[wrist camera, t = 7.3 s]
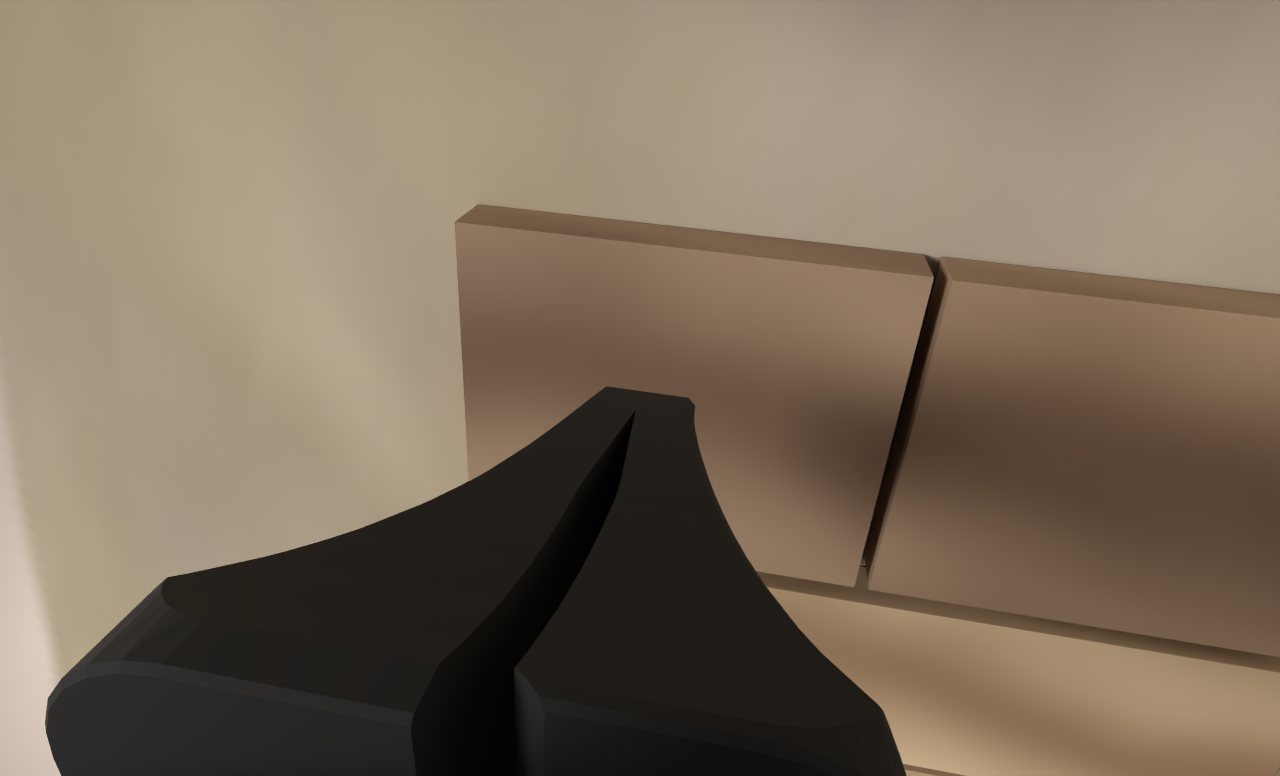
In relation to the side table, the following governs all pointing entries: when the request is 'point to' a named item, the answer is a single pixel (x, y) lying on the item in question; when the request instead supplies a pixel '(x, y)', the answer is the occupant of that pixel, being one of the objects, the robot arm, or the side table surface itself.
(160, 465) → the side table surface
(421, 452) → the side table surface
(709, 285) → the plank
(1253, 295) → the plank
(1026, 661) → the laid oak row
